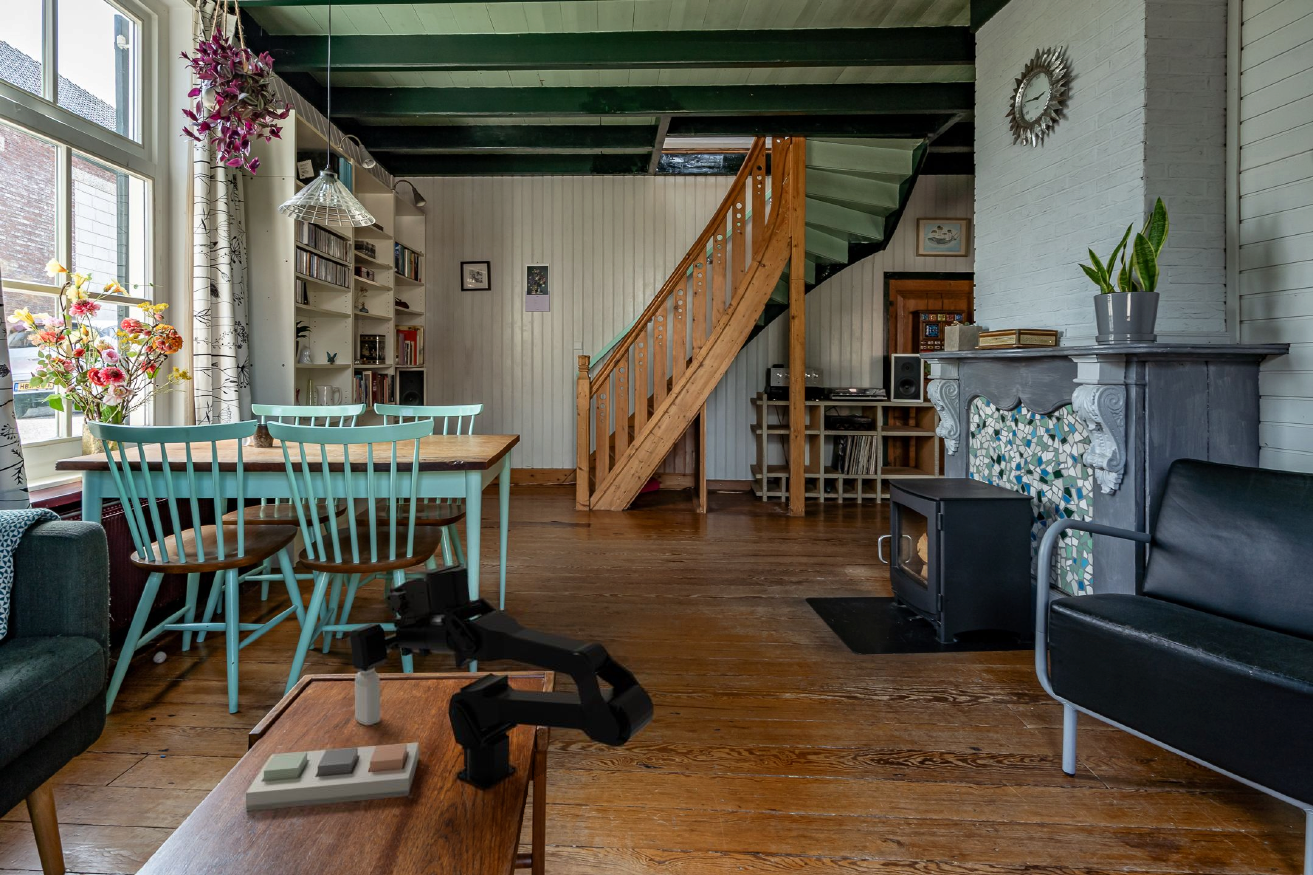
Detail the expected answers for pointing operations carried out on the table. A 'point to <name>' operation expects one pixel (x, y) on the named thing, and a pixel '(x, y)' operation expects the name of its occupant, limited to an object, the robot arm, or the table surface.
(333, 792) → the keypad frame
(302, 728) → the table surface
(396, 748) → the terracotta key
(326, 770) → the charcoal key
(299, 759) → the sage key
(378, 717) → the eye dropper bottle
